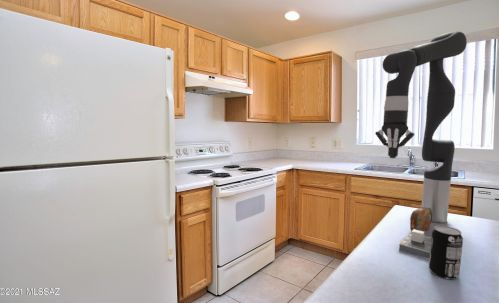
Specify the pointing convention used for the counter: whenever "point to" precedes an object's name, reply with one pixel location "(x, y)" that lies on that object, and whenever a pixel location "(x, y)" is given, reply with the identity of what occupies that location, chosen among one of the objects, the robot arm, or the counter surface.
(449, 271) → the beverage can
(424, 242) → the switch panel
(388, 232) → the counter surface
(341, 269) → the counter surface
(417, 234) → the tab
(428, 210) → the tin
